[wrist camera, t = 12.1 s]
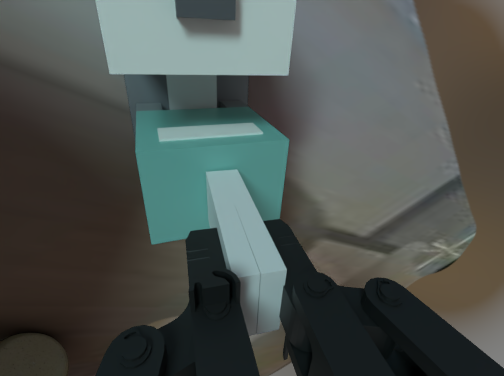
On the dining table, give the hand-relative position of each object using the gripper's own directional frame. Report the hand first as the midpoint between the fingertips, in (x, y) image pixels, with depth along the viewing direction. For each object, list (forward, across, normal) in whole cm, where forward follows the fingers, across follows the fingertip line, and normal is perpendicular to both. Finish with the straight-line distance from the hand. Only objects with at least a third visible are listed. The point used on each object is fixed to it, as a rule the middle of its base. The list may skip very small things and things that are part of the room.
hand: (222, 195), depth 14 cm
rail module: (+8, -1, 0) cm, 8 cm away
